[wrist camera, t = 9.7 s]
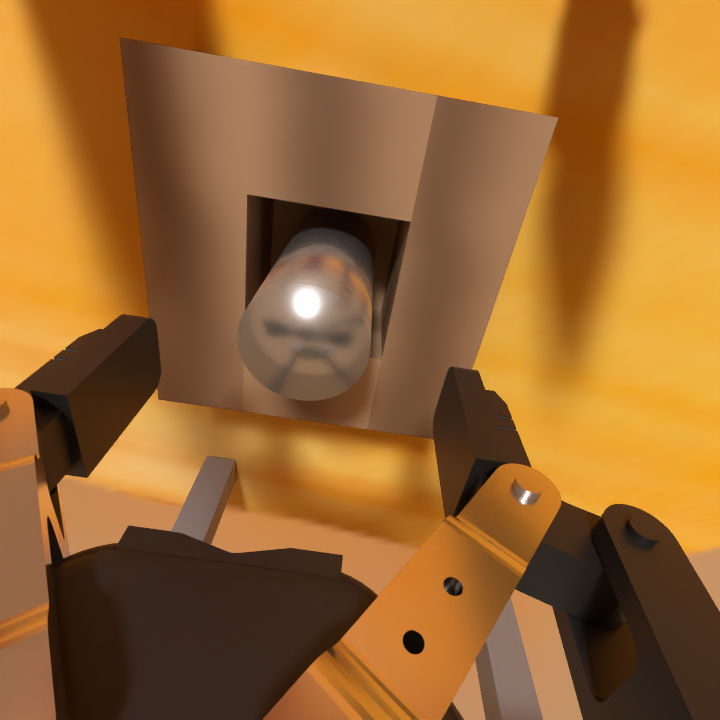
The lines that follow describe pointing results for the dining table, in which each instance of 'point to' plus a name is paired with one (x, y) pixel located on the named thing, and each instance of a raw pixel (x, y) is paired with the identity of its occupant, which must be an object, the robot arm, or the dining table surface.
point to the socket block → (304, 196)
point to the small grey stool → (494, 662)
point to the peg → (313, 310)
